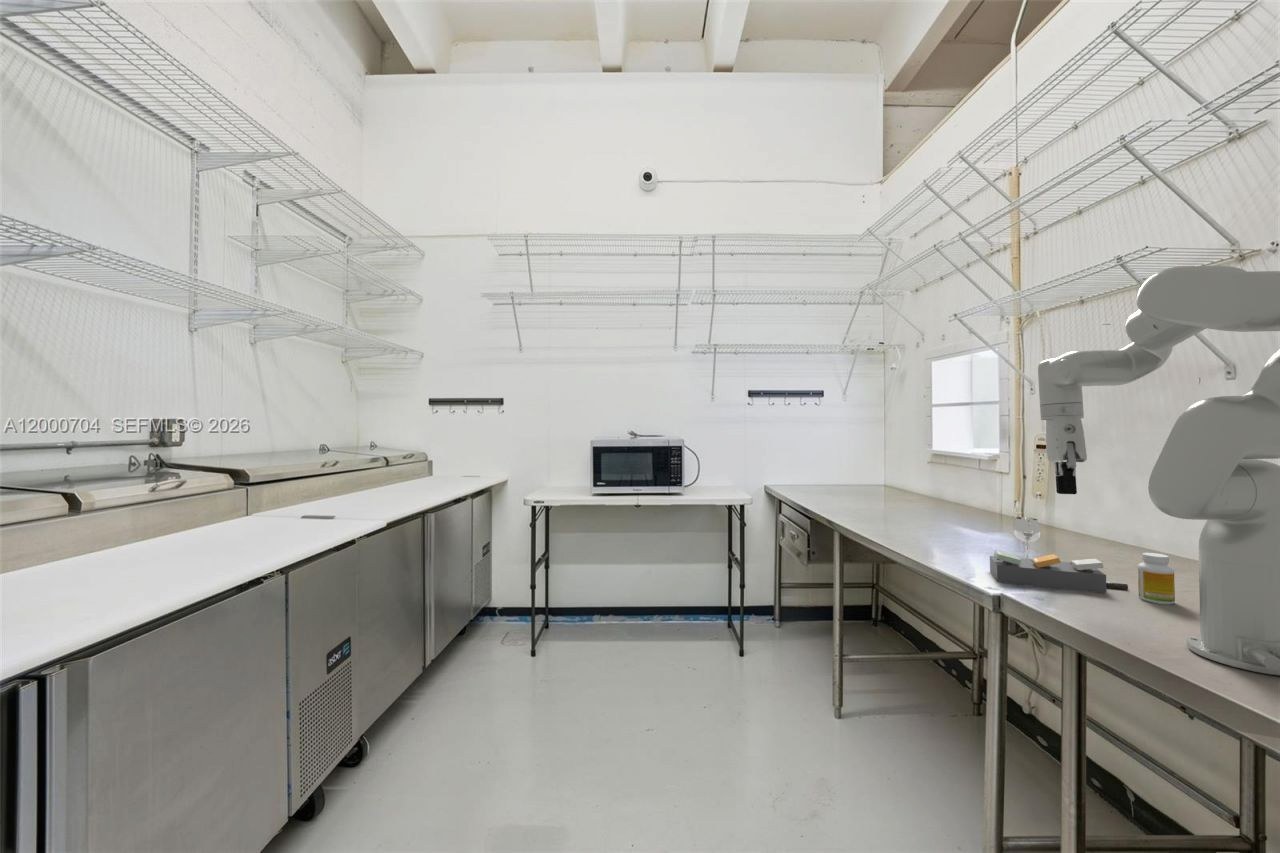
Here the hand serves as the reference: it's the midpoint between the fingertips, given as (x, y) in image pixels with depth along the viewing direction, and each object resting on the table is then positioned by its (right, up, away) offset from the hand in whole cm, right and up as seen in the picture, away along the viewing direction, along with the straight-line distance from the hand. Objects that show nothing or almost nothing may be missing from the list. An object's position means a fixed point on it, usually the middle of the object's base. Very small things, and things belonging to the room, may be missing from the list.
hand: (1066, 493), depth 113 cm
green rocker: (-7, -17, +9) cm, 20 cm away
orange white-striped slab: (0, -17, +6) cm, 18 cm away
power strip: (+3, -22, +6) cm, 23 cm away
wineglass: (+10, -22, +24) cm, 34 cm away
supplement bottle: (+13, -22, -7) cm, 27 cm away
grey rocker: (+7, -17, +2) cm, 18 cm away
